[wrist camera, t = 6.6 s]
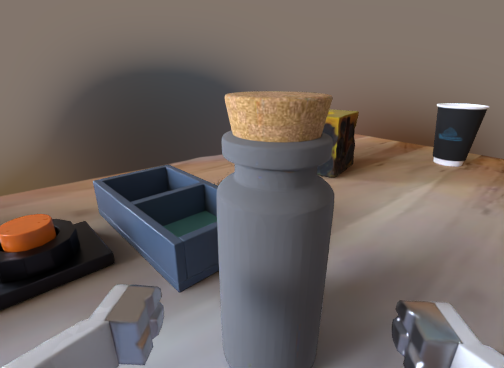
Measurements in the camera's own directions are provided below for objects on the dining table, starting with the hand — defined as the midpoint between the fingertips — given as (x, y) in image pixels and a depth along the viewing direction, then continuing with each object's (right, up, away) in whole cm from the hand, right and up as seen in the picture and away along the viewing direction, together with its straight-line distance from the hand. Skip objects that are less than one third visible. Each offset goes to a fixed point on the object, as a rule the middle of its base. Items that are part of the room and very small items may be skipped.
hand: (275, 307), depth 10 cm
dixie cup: (+38, +8, +46) cm, 60 cm away
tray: (-9, -1, +21) cm, 23 cm away
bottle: (0, -6, +8) cm, 10 cm away
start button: (-19, -1, +14) cm, 24 cm away
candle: (+11, +7, +43) cm, 45 cm away
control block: (-19, -3, +15) cm, 25 cm away
